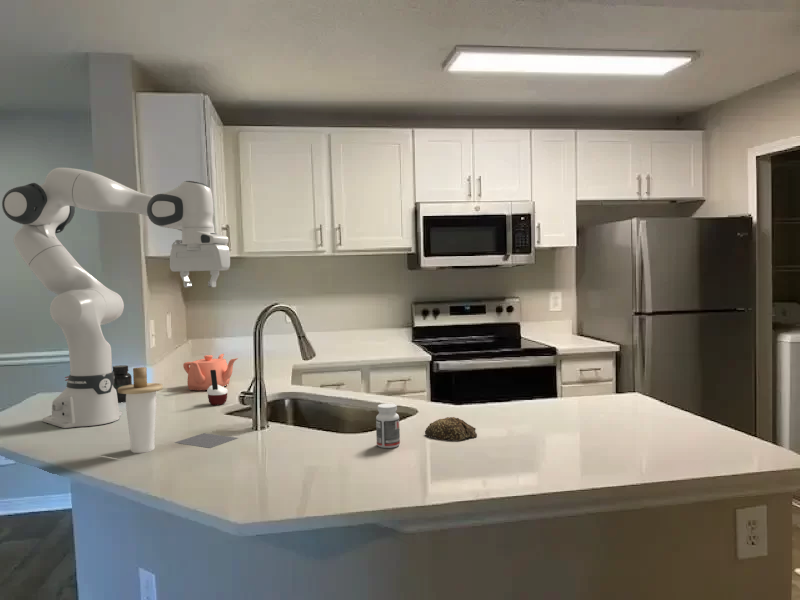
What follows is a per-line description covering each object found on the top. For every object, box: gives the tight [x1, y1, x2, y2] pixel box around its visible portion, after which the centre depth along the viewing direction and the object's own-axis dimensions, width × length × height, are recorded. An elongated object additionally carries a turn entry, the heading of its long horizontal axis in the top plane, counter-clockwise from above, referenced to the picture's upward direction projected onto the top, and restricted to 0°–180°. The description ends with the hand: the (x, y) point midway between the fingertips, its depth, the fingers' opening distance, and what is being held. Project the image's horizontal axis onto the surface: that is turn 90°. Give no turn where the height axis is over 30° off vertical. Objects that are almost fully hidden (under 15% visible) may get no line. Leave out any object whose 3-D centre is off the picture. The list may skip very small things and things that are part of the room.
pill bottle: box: [375, 403, 401, 449], centre depth 152 cm, size 6×6×10 cm
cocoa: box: [206, 370, 228, 406], centre depth 204 cm, size 10×6×12 cm, turn 160°
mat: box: [174, 432, 239, 449], centre depth 158 cm, size 12×10×1 cm
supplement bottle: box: [112, 364, 133, 404], centre depth 212 cm, size 7×7×12 cm
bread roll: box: [424, 416, 478, 442], centre depth 162 cm, size 13×12×5 cm
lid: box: [118, 366, 164, 394], centre depth 150 cm, size 10×10×5 cm
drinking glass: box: [125, 391, 157, 454], centre depth 150 cm, size 7×7×15 cm
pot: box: [182, 353, 239, 391], centre depth 235 cm, size 18×17×12 cm
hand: (199, 287), depth 177 cm, fingers open, 8 cm apart
